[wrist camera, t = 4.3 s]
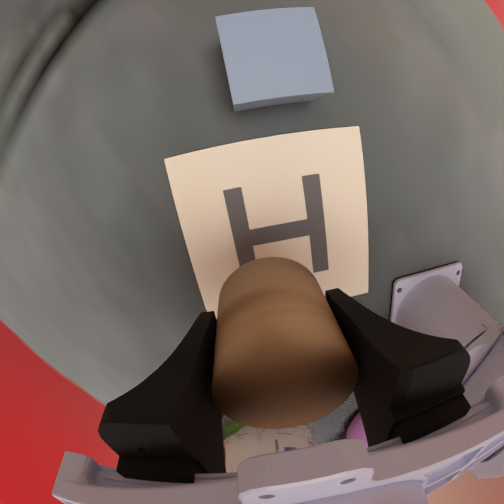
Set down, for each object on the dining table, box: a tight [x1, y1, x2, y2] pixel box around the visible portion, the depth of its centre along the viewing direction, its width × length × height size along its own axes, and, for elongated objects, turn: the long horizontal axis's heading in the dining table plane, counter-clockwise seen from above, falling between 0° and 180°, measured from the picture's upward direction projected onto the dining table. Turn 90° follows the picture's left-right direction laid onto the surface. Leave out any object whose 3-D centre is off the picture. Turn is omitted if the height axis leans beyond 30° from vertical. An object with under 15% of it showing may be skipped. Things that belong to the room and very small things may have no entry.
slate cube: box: [215, 7, 334, 112], centre depth 14 cm, size 5×5×5 cm
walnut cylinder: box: [212, 257, 358, 429], centre depth 11 cm, size 5×5×6 cm
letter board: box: [164, 126, 368, 319], centre depth 20 cm, size 13×13×1 cm
